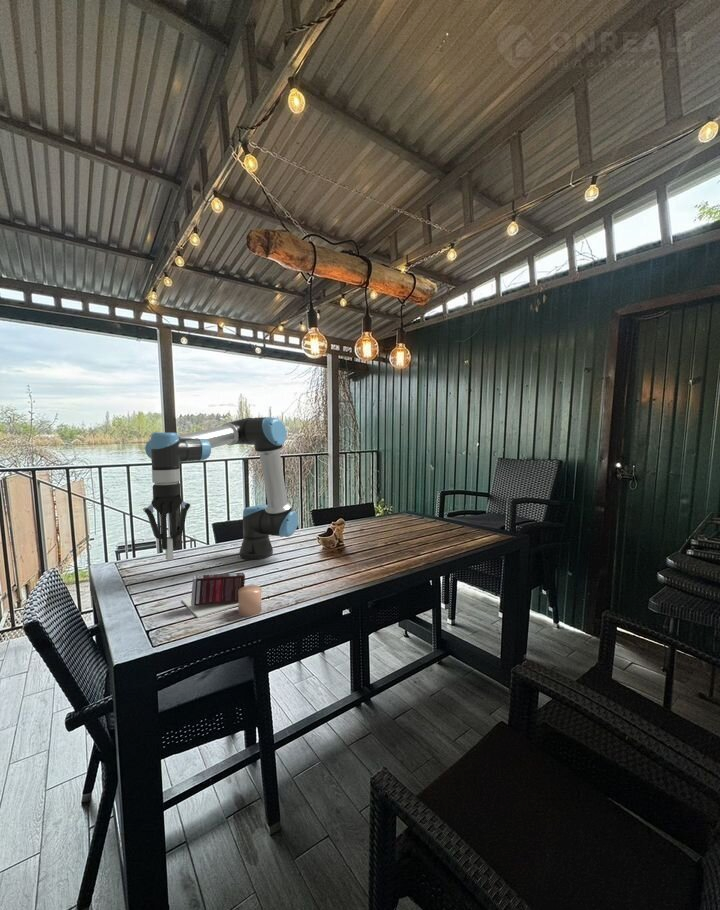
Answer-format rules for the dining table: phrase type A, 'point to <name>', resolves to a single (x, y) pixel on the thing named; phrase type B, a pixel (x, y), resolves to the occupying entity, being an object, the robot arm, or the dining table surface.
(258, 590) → the peach pillar candle
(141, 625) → the dining table surface
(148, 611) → the dining table surface
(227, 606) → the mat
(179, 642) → the dining table surface
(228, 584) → the supplement box
